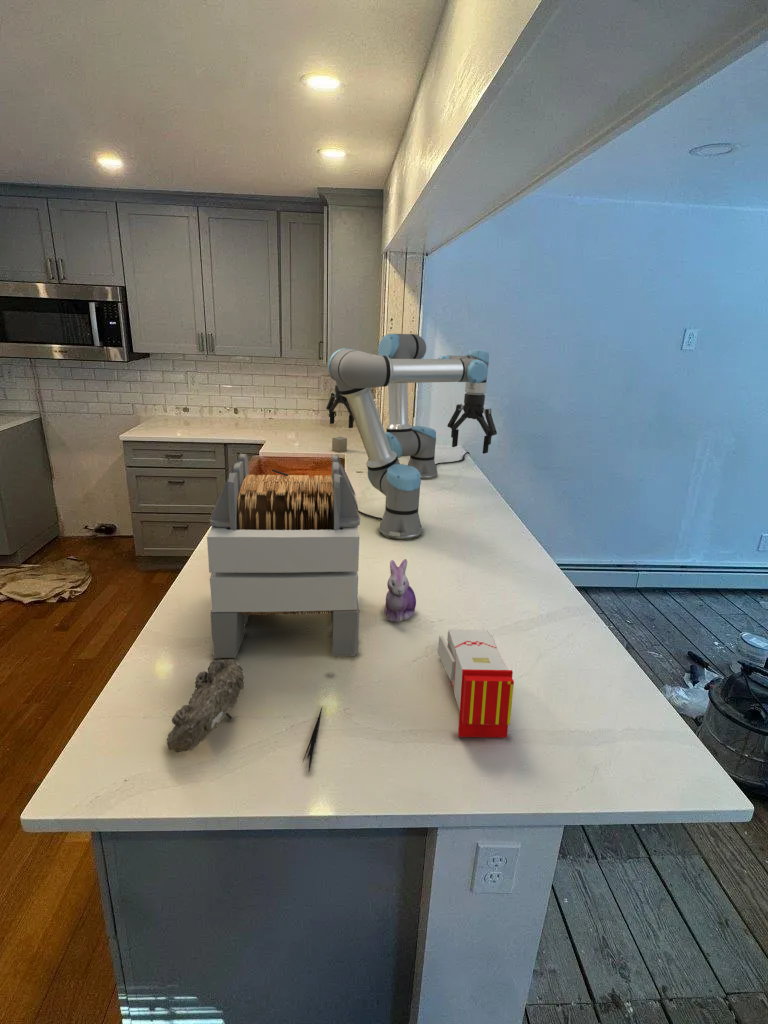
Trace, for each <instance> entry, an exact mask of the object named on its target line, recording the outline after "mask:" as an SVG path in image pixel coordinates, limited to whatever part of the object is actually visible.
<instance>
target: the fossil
mask: <svg viewBox="0 0 768 1024" xmlns="http://www.w3.org/2000/svg"><path fill="white" fill-rule="evenodd" d="M243 670H244V669H243V667H242V665H240V664H237V662H236V661H235V660H234V659H233V658H230V659H229V658H226V659H224V660H223V661H222V660H217V659H212V660H211V661H210V663H209V665H208V666H207V671H201V672H199V673H198V674H197V675H196V676H195V680H194V684H195V685H194V687H195V689H194V690H193V693H192V694H191V697H190V698H189V700H188V704H184V705H182V706H181V707H180V709H177V710H176V711H175V713H174V715H173V716H172V718H171V723H172V724H173V727H172V730H171V731H170V732H168V734H167V738H166V741H167V742H166V745H167V749H168V750H169V751H173V752H174V753H176V754H178V753H182V752H188V751H189V752H192V751H193V750H195V748H196V747H197V746H199V744H200V743H201V742H203V741H204V740H205V739H206V738H207V737H208V736H209V735H210V734H211V733H212V732H214V730H215V729H217V727H218V726H219V724H220V722H221V721H222V720H223V719H224V718H225V716H226V717H227V719H229V720H233V717H232V715H230V714H229V710H230V709H231V708H234V706H235V704H236V703H237V702H238V699H239V697H240V695H241V693H242V691H243V690H245V689H244V688H245V675H244V671H243Z"/></svg>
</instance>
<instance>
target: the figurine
mask: <svg viewBox="0 0 768 1024" xmlns="http://www.w3.org/2000/svg"><path fill="white" fill-rule="evenodd" d="M407 567H408V559H406V558H404V559H403V560H402V561H401V563H400V565H399V566H398V565H397V563H396V562H395V561H394V560H393V559H391V560H390V561H389V570H390V576H389V578H388V579H387V589H388V591H387V592H386V594H385V595H386V596H385V607H384V615H385V616H386V620H387V621H391V622H395V623H400V622H402V621H406V620H409V619H410V618H411V617H413V616H414V615H415V610H416V606H417V597H416V593H415V591H414V590H413V587H411V586H410V582H409V579H408V577H407V574H406V571H407Z"/></svg>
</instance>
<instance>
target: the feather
mask: <svg viewBox="0 0 768 1024" xmlns="http://www.w3.org/2000/svg"><path fill="white" fill-rule="evenodd" d="M329 675H330V676H331V675H332V674H331V673H330V674H329ZM322 710H323V707H321V708H320V710H319V713H318V716H317V719H316V723H315V725H314V728H313V731H312V733H311V737H310V739H309V742H308V745H307V748H306V751H305V754H304V757H303V760H302V763H301V767H302V765H303V763H304V761H305V758H308V759H309V760H308V762H307V763H308V764H307V766H308V771H310V770H311V766H312V765H311V764H312V760H313V757H315V756H314V755H315V751H316V749H315V746H317V739H318V733H319V729H320V722H321V717H322V712H323V711H322ZM313 754H314V755H313ZM306 755H307V757H306Z"/></svg>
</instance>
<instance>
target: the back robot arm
mask: <svg viewBox="0 0 768 1024" xmlns="http://www.w3.org/2000/svg"><path fill="white" fill-rule="evenodd" d="M426 353H427V344H426V341H425V339H424V338H423V337H422V336H421V335H419V334H415V333H388V334H384V336H382V338H381V340H380V342H379V344H378V349H377V355H380V356H388V357H389V359H424V357H425V355H426ZM387 388H388V392H387V393H388V421H389V422H388V423H389V424H388V425H387V426H386V428H385V430H386V432H385V434H386V437H387V440H388V443H389V446H390V449H391V451H393V452H396V454H397V456H398V459H400V458H405V457H409V459H408V462H407V465H408V466H412V467H414V468H416V469H417V470H418V471H419V472H420V479H421V480H432V479H435V478H437V477H438V470H437V466H438V465H447V464H455V463H456V464H457V463H461V462H462V461H464V460H465V456H466V455H467V454H468V455H471V454H470V451H466V452H465V453H464V454H463V455H462V459H459V460H458V459H457V460H453V461H442V462H435V461H436V460H435V458H436V457H435V455H436V445H437V444H436V443H437V431H436V430H435V429H434V428H431V427H428V426H421V425H413V426H412V425H410V423H409V395H408V393H409V391H408V383H390V384H389V385H388V386H387ZM329 397H330V398H329V401H328V403H327V405H326V410H327V411H328V417H329V425H333V424H335V413H336V411H335V409H336V407H338V405H339V404H343V406H344V407H345V408H346V410H347V412H348V414H349V415H348V429H353V428H354V422H355V420H354V417H353V414H352V412H351V409H350V406H349V403H348V401H347V398H346V397H344V396H342V395H341V394H340V392H339V389H338V387H337V384H336V381H335V380H334V392H331V393H330V396H329Z"/></svg>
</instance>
